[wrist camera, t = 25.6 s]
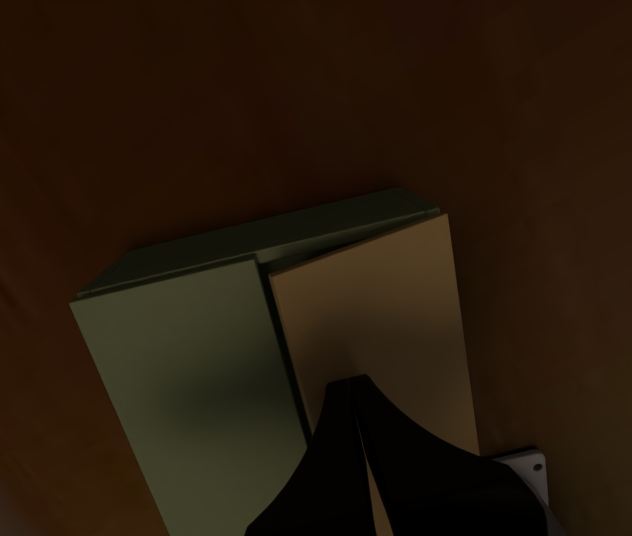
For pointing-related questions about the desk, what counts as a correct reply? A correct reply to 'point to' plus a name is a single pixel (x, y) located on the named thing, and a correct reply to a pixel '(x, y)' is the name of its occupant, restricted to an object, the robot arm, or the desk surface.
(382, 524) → the sorter lid
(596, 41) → the desk surface
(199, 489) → the box
